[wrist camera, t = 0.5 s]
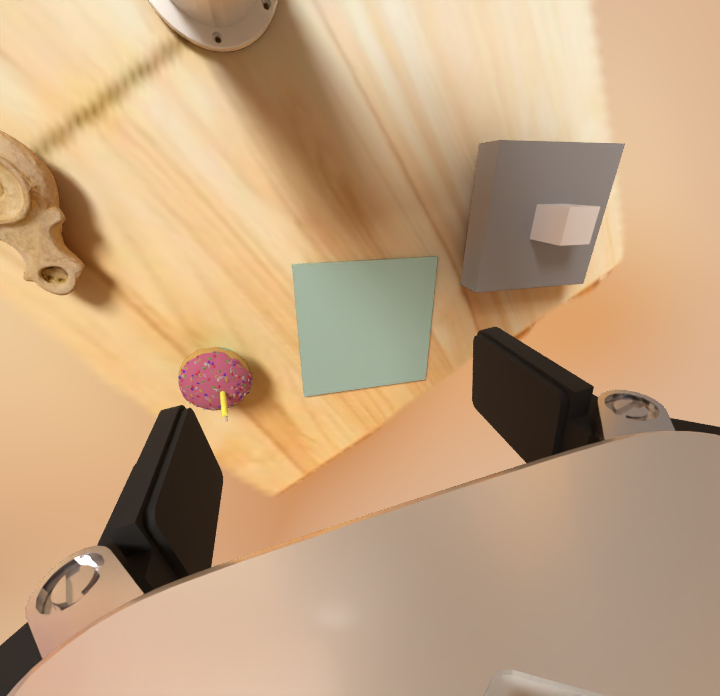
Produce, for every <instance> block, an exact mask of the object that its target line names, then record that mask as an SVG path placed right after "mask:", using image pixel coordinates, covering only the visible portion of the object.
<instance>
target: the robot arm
mask: <svg viewBox="0 0 720 696" xmlns="http://www.w3.org/2000/svg"><path fill="white" fill-rule="evenodd" d="M148 1H149V3H150V4H151V6H152V7H153V8H154V10H155V11H156V13H157V14H158V15H159V16H160V17H161V18H162V19H163V20H164V21H165V22H166V23H167V25H168V26H169V27H171V28H172V29H173V30H174V31H175V32H177V33H178V34H179V35H180V36H182V37H183V38H185V39H186V40H188V41H190V42H192V43H193V44H195V45H197V46H200V47H203V48H206V49H208V50H213V51H221V52H227V51H236V50H239V49H242V48H244V47H247V46H249V45H250V44H252V43H253V42H255V41H256V40H257V39H258V38H259V37H260V36H261V35H262V34H263V33H264V32H265V30H266V29H267V27H268V26H269V24H270V22H271V20H272V18H273V16H274V13H275V10H276V7H277V3H278V0H148ZM265 4H267V5H268V6H269V9H268V10H266V9H265V8H264V5H265ZM216 38H220V39H221V42H220V43H217V42H216ZM472 387H473V388H472V401H473V404H474V407H475V408H476V409H477V410H478V412H479V413H480V414H481V415H482V416H483V417H484V418H485V419H486V420H487V421H488V422H489V423H490V425H492V427H493V428H494V429H495V430H496V431H497V432H498V433H499V434H500V435H501V436H502V437H503V438H504V439H505V441H506V442H507V443H508V444H509V445H510V446H511V447H512V448H513V449H514V450H515V451H516V452H517V453H518V454H519V456H520V457H521V458H522V459H523V460H525V462H526V464H523V465H520V466H517V467H514V468H511V469H507V470H504V471H501V472H498V473H495V474H492V475H489V476H486V477H482V478H479V479H476V480H473V481H470V482H467V483H464V484H461V485H457V486H454V487H451V488H449V489H445V490H442V491H439V492H436V493H433V494H430V495H427V496H424V497H421V498H417V499H415V500H411V501H408V502H405V503H402V504H399V505H396V506H393V507H390V508H387V509H384V510H381V511H378V512H375V513H372V514H368V515H365V516H362V517H360V518H356V519H354V520H350V521H347V522H344V523H341V524H338V525H336V526H332V527H330V528H326V529H323V530H320V531H317V532H314V533H311V534H308V535H305V536H302V537H300V538H296V539H293V540H290V541H287V542H284V543H281V544H278V545H275V546H272V547H269V548H266V549H263V550H260V551H257V552H254V553H251V554H249V555H246V556H243V557H240V558H237V559H234V560H231V561H229V562H226V563H223V564H220V565H217V566H214V567H211V564H212V557H213V550H214V542H215V536H216V529H217V521H218V515H219V507H220V500H221V493H222V486H223V476H222V471H221V469H220V467H219V465H218V463H217V460H216V458H215V456H214V454H213V452H212V450H211V448H210V445H209V443H208V441H207V439H206V437H205V435H204V433H203V430H202V428H201V426H200V424H199V422H198V420H197V418H196V415H195V413H194V411H193V410H192V409H191V408H188V409H186V408H185V407H184V406H183V405H180V406H176V407H172V408H168V409H164V410H161V412H160V413H159V415H158V417H157V420H156V422H155V424H154V427H153V428H152V431H151V433H150V435H149V437H148V439H147V441H146V444H145V446H144V448H143V450H142V452H141V455H140V457H139V459H138V461H137V463H136V464H135V466H134V467H133V469H132V471H131V473H130V476H129V478H128V480H127V482H126V485H125V487H124V489H123V491H122V493H121V495H120V497H119V499H118V502H117V504H116V506H115V508H114V510H113V512H112V514H111V517H110V519H109V521H108V523H107V525H106V528H105V530H104V532H103V534H102V536H101V538H100V540H99V543H98V545H97V546H92V547H88V548H85V549H82V550H80V551H78V552H76V553H74V554H72V555H71V556H69V557H67V558H66V559H64V560H63V561H62V562H60V563H59V564H58V565H57V566H55V567H54V568H53V569H52V570H51V571H49V572H48V573H47V574H46V576H45V577H44V578H43V579H42V580H41V581H40V582H39V583H38V585H37V586H36V588H35V589H34V591H33V592H32V594H31V595H30V597H29V600H28V603H27V606H26V619H27V621H28V622H27V623H26V624H25V625H24V626H23V627H21V628H20V629H19V630H18V631H17V632H16V633H15V634H13V635H12V636H11V637H10V638H9V639H7V640H6V641H5V642H4V643H3V644H2V645H1V646H0V696H720V427H716V426H711V425H705V424H700V423H695V422H689V421H684V420H678V419H672V418H670V417H669V415H668V413H667V411H666V409H665V408H664V406H663V405H662V404H660V403H659V402H658V401H656V400H654V399H653V398H651V397H649V396H646V395H643V394H640V393H637V392H632V391H627V390H612V391H606V392H604V393H602V394H601V395H600V396H599V397H597V396H595V395H593V394H592V393H593V388H594V387H593V386H592V385H590V384H589V383H587V382H585V381H584V380H582V379H580V378H579V377H577V376H576V375H574V374H572V373H571V372H569V371H567V370H566V369H564V368H563V367H561V366H559V365H558V364H556V363H555V362H553V361H551V360H550V359H548V358H547V357H545V356H543V355H541V354H540V353H538V352H537V351H535V350H534V349H532V348H530V347H529V346H527V345H525V344H524V343H522V342H521V341H519V340H517V339H516V338H514V337H513V336H511V335H509V334H508V333H506V332H504V331H503V330H501V329H500V328H498V327H492V328H488V329H484V330H480V331H479V332H478V334H477V336H475V337H474V341H473V386H472Z"/></svg>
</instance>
